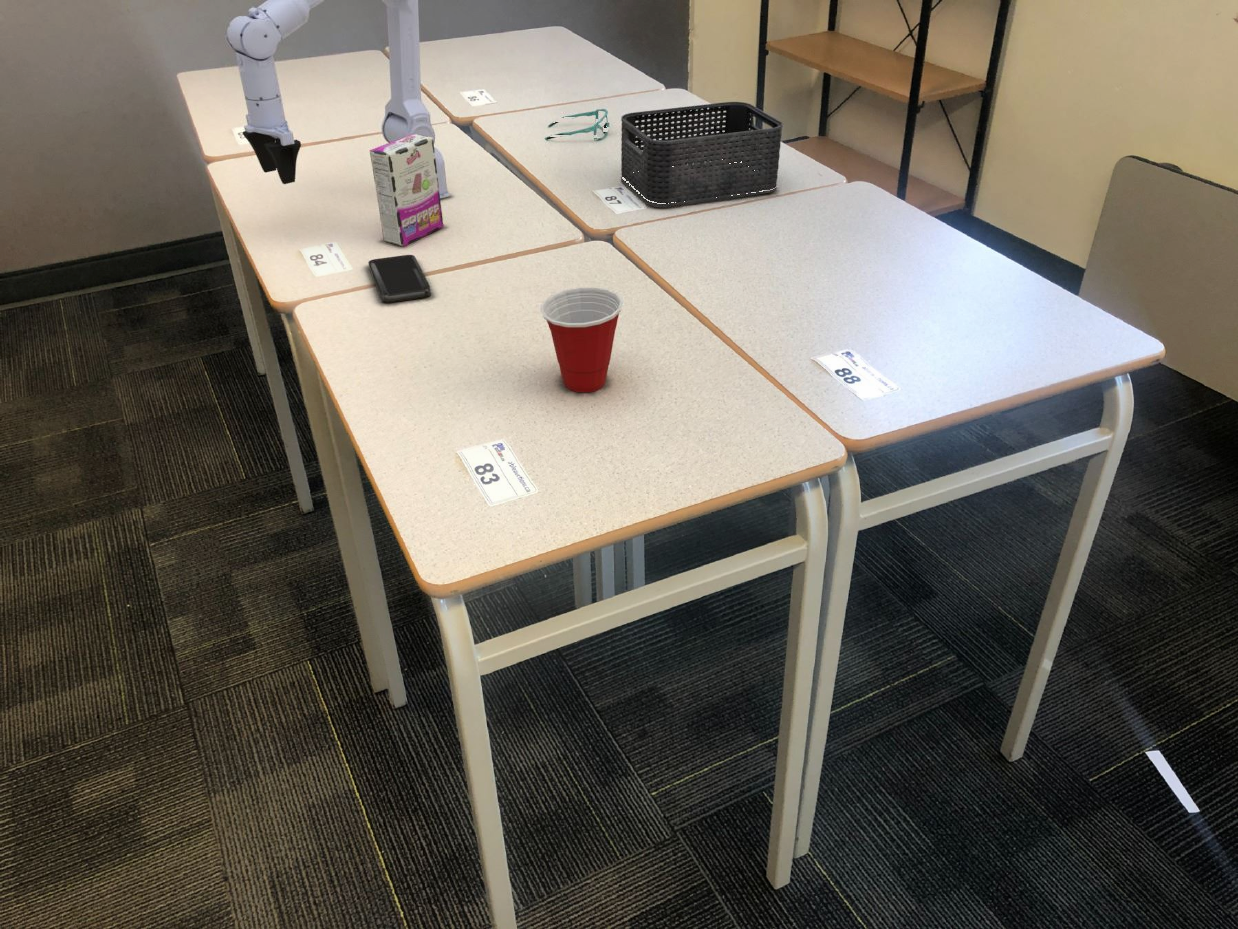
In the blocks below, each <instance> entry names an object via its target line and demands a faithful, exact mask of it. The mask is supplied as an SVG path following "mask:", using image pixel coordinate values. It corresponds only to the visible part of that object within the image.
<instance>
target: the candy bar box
mask: <svg viewBox="0 0 1238 929" xmlns="http://www.w3.org/2000/svg"><path fill="white" fill-rule="evenodd" d="M434 148H435V143H434V142H433V138H432V137H428V136H424V135H419V134H411V135H409V136H406V137H403V138H400V139H398V140H395V141H393V142H390V143H388V142H387V143H385V144H383V145H380V146H377V147H375V148H373V149H372V148H371V149H369V155H370V156H369V157H370V161H371V168H372V174H373V180H374V187H375V191H376V199H377V205H378V206H377V207H378V211H379V218H380V223H381V224H380V226H381V229H382V237H383V241H384V242H386V243H387V244H388V243H389V244H392V245H397V246H400V247H405V246H407V245H410V244H412V243H414V242H416V241H417V240H420V239H422V238H424V237H426V236H428V235H430V234H432V233H434V232H436V231H438V230H440V229H442V228H443V227H444V218H443V212H442V203H441V199H440V194H439V186H438V176H437V168H436V159H435V151H434Z"/></svg>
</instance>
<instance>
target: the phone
mask: <svg viewBox="0 0 1238 929" xmlns="http://www.w3.org/2000/svg"><path fill="white" fill-rule="evenodd" d="M367 263H368V269H369V271H370V274H371V277H372V280H373V282H374V285H375V288H376V291H377V292H378V295H379V298H380V301H381V302H382V303H386V304H388V303H389V304H390V303H396V302H397V303H398V302H403V301H412V300H418V299H424V298H428V297H430V296H431V294H432V293H431V287H430V284H429V282H428V280H427V279H426V275H425V274H424V271H423V270H422V268H421V266H420V264H419V261H418V259H417V258H416V256H415V255H414V254H404V255H396V256H390V257H389V256H388V257H381V258H380V257H379V258H372V259H370V260H368V262H367Z"/></svg>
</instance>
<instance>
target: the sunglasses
mask: <svg viewBox="0 0 1238 929" xmlns="http://www.w3.org/2000/svg"><path fill="white" fill-rule="evenodd" d="M599 112H604V114H603V116H602V117H601V118H600V120H599ZM608 113H609V112H608V110H607V109H606V108H600V109H596V110H592V111H586V112H580V113H576V114H572V115H571V114H570V115H565V116H563V117H561V118H564V117H575V118H579V117H592V116H595V120H596V119H598V122H597V123H596V122H595V123H594V125H592V126H589V127H586V128H582V129H578V130H574V131H568V132H559V133H556V134H555V133H554V135H569V136H572V135H577V134H582V133H583V134H584V133H585V134H588V133H590V132H593V136H594V135H596V134H598V133H597V130H598V128H599V129H600V130H602V133H603V134H604V135H603V136H602V137H599V138H594V137H593V140H594V141H596V140H595V139H602V140H604V139H605V138H607V136H608V133H609V131H608V132H603V127H604V128H607V127H609V128H610V122H608ZM605 118H606V122H605V123H604V125H603V126H601V125H600V124H601V123H602V122H603V121H604V119H605ZM557 124H559V122H555V123H553V122H551V123H549V124H548V125H547V127H548V128H551V127H554V126H555V125H557ZM606 126H607V127H606ZM606 135H607V136H606ZM550 136H551V135H549V136H546V137H544V140H545V141H549V140H552V139H556V138H557V137H550ZM604 137H605V138H604Z"/></svg>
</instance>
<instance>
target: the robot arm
mask: <svg viewBox="0 0 1238 929" xmlns="http://www.w3.org/2000/svg"><path fill="white" fill-rule="evenodd" d="M324 1H326V0H266V1H264V2H263V3H262V4H260V5H259V6H258V7H254V6H252V7H251V8H249V9H248V16H247V15H239V16H236V17H234V18H233V19H232V20H231V21H229V26H228V27H227V30H226V35H225V37H224V38H225V41H226V43H227V45H228V47H229V48H230V49H231V50H233V52H234V53H235V56H236V62H237V65H238V66H237V67H238V72H239V78H240V82H241V86H242V91H243V96H244V100H245V105H246V109H247V113H246V114H245V120H246V123H247V125H244V126H243V130H244V131H243V132H242V135H243V137H244V138H245V139H246V140H247V142H248V143H249V145H250V146H251V148H252V150H253V152H254V153H255V156H256V158H257V160H258V163H259V166H260V167H261V170H262V171H263V173H270V172H275V171H277V174H278V177H279V179H280V182H281V184H283V185H287V184H292V183H295V182H296V175H297V174H296V173H297V172H296V171H297V159H298V156H299V152H300V149H301V148H302V142H301V140H298V139H294V138H295V137H294V134H293V133H294V132H292V131H291V129H290V127H289V123H288V121H287V120H286V114H285V110H284V105H283V98H282V94H281V90H280V85H279V84H280V83H279V79H278V73H277V69H276V64H275V59H274V55H275V53H276V51H277V48H278V44H279V43H281V41H283V40H285V39H286V38H287V37H289V36H290V35H291V34H293V33H294V32H295V31H297V30H298V29H299V28H301V27H302V26H303V25H305V24H307V23H308V21H309V16H310V11H311V10H312V9H314V8H315V7H317V6H318V5H320V4H321V3H324ZM381 2H383V3H384V4H385V6H386V17H387V18H386V20H387V41H388V61H389V63H388V64H389V80H390V81H389V82H390V99H389V100H388V101H387V103H386V104H385V106H384V117H383V120H382V122H381V134H382V137H383V139H384V140H385V141H386V142H387V143H390V142H393V141H395V140H398V139H400V138H403V137H406V136H409V135H411V134H419V135H424V136H428V137H432V138H433V142H434V144H435V142H436V133H435V129H434V128H433V125H432V123H431V114H430V111H429V110H428V108H427V107H426V105H425V103H424V102H423V99H422V84H421V53H420V52H421V49H420V22H419V21H420V20H419V16H420V15H419V0H381ZM434 151H435V159H436V168H437V176H438V186H439V194H440V200H442V199H445V198H448V197H450V196H451V195H450V193H449V192H448V184H447V174H446V164H445V160H444V157H443V155H442V153H441V151H440V150H439V149H438V148H437V147H434Z"/></svg>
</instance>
